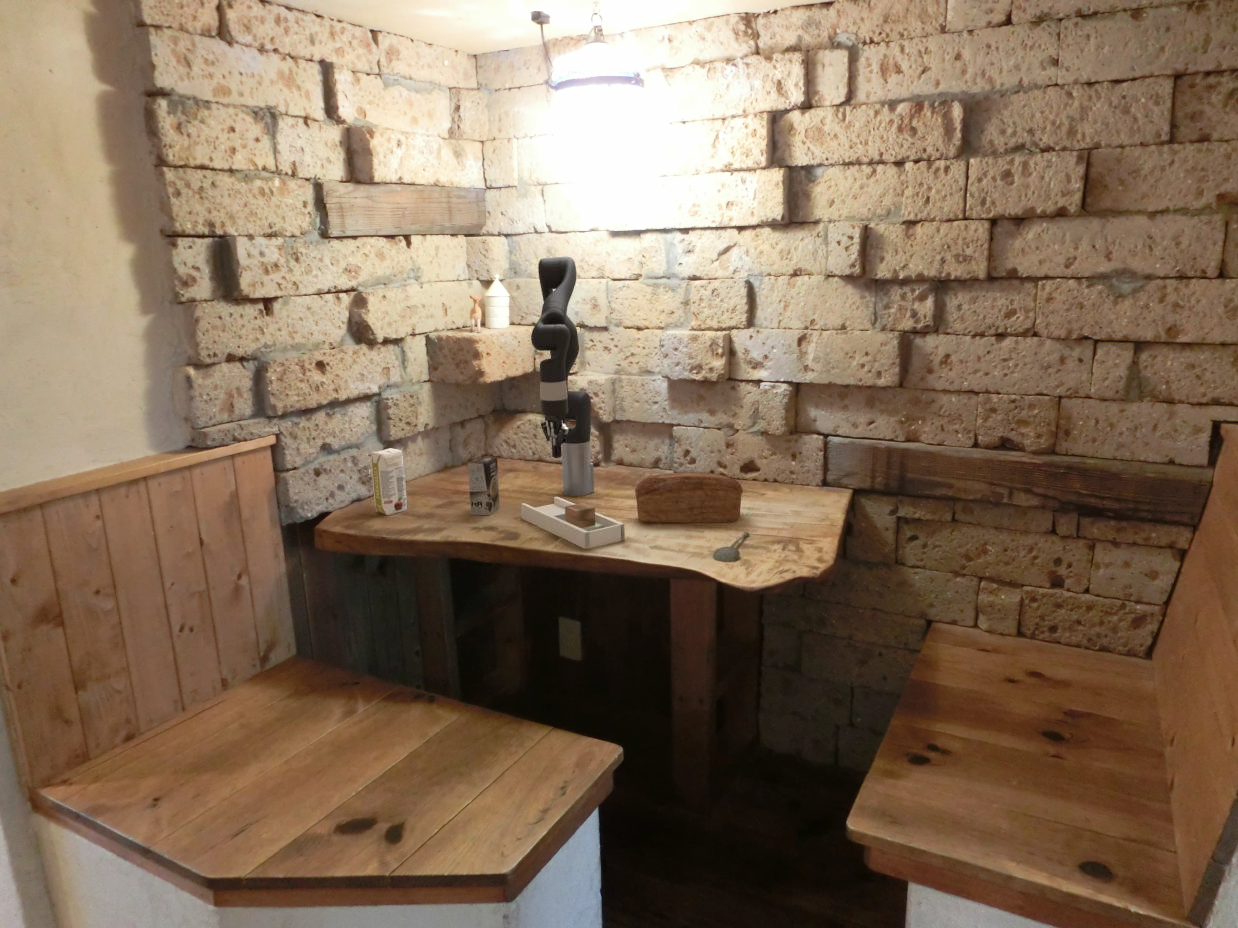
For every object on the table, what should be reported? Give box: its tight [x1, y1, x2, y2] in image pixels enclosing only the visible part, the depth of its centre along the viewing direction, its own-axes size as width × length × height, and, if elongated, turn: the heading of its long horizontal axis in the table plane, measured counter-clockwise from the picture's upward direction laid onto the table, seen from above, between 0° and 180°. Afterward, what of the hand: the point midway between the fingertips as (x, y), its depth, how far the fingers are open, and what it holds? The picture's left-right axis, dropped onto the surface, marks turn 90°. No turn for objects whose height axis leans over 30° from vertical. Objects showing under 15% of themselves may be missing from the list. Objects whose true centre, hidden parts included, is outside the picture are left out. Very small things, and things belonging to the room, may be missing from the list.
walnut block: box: [565, 502, 596, 528], centre depth 234 cm, size 6×6×5 cm
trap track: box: [520, 496, 626, 550], centre depth 239 cm, size 12×35×4 cm, turn 35°
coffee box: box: [467, 456, 501, 516], centre depth 257 cm, size 9×6×16 cm
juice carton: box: [370, 447, 408, 516], centre depth 258 cm, size 8×9×19 cm
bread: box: [634, 471, 744, 524], centre depth 245 cm, size 12×31×14 cm, turn 88°
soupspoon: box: [712, 531, 750, 563], centre depth 220 cm, size 22×3×7 cm
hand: (556, 457), depth 240 cm, fingers closed
